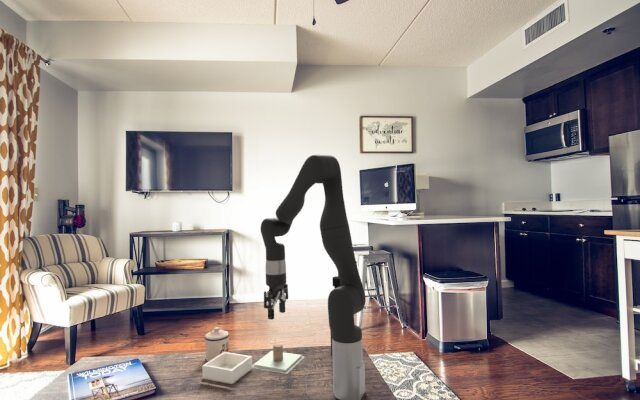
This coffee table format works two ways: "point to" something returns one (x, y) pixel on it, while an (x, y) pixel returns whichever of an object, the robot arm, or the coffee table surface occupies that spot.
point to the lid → (278, 359)
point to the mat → (280, 371)
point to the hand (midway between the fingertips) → (276, 315)
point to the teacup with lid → (216, 343)
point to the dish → (227, 367)
